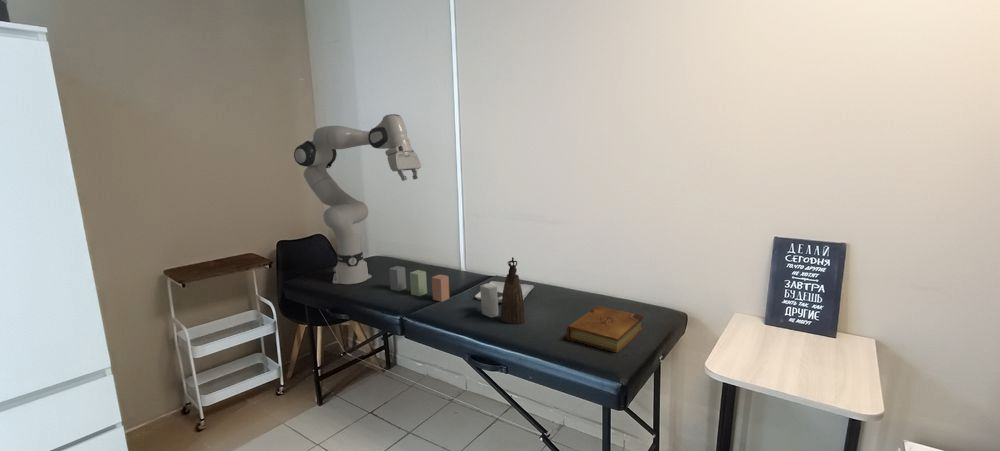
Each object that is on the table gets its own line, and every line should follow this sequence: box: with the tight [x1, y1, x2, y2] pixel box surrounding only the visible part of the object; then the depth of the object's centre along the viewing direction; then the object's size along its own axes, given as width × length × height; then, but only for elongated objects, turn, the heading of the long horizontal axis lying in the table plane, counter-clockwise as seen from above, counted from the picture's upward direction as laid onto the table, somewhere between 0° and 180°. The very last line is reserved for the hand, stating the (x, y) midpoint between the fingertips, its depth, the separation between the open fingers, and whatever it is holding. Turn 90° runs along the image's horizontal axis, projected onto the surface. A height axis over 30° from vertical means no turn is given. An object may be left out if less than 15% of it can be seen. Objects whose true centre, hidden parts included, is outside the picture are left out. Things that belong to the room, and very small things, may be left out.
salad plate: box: [474, 280, 535, 304], centre depth 205 cm, size 21×21×3 cm
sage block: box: [409, 269, 428, 297], centre depth 207 cm, size 5×5×10 cm
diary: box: [566, 305, 644, 354], centre depth 165 cm, size 23×19×6 cm
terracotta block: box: [431, 274, 450, 303], centre depth 200 cm, size 5×5×10 cm
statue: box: [500, 257, 526, 325], centre depth 176 cm, size 9×8×25 cm
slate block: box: [388, 265, 407, 292], centre depth 214 cm, size 5×5×10 cm
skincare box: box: [479, 282, 499, 318], centre depth 184 cm, size 6×4×12 cm
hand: (410, 179), depth 209 cm, fingers open, 8 cm apart
